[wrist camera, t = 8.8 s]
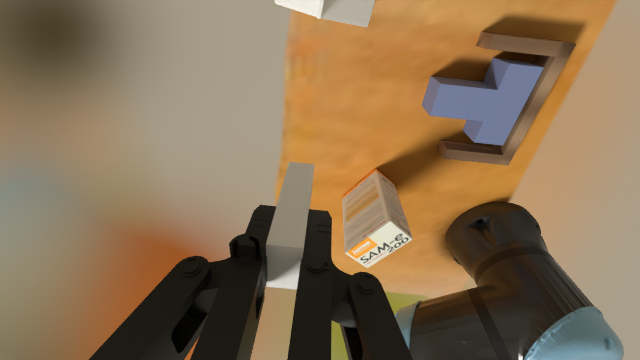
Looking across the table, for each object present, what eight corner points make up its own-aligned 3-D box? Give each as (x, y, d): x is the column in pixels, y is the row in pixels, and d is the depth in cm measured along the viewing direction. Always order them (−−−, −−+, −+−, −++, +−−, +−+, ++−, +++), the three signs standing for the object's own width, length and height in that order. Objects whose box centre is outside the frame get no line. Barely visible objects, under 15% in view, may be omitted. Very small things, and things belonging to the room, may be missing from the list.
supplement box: (360, 210, 49) (367, 270, 38) (341, 195, 48) (343, 254, 37) (395, 183, 46) (414, 240, 35) (376, 166, 44) (390, 221, 33)
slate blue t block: (415, 125, 40) (422, 136, 36) (438, 51, 34) (449, 56, 31) (489, 133, 40) (503, 145, 37) (523, 60, 34) (544, 67, 31)
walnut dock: (497, 155, 42) (508, 165, 39) (437, 149, 42) (443, 158, 39) (558, 40, 33) (576, 43, 30) (481, 31, 33) (493, 34, 30)
